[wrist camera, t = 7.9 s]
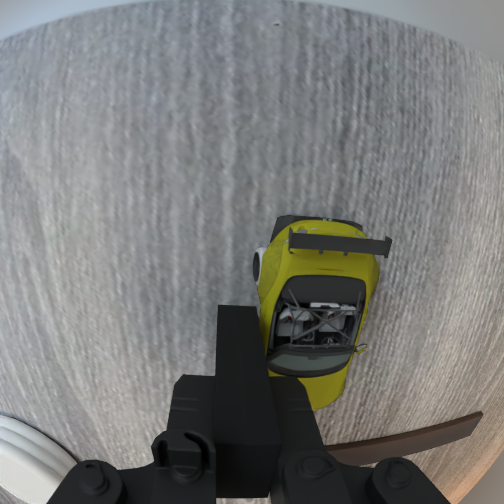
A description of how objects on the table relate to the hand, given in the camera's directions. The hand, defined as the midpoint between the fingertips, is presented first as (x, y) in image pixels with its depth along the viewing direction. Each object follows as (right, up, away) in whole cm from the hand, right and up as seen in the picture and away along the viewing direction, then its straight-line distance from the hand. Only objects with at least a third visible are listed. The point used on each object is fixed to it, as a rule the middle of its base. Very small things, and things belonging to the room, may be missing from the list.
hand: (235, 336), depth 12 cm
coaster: (-17, -13, +5) cm, 22 cm away
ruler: (+8, -10, +6) cm, 14 cm away
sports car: (+3, 0, +2) cm, 4 cm away
